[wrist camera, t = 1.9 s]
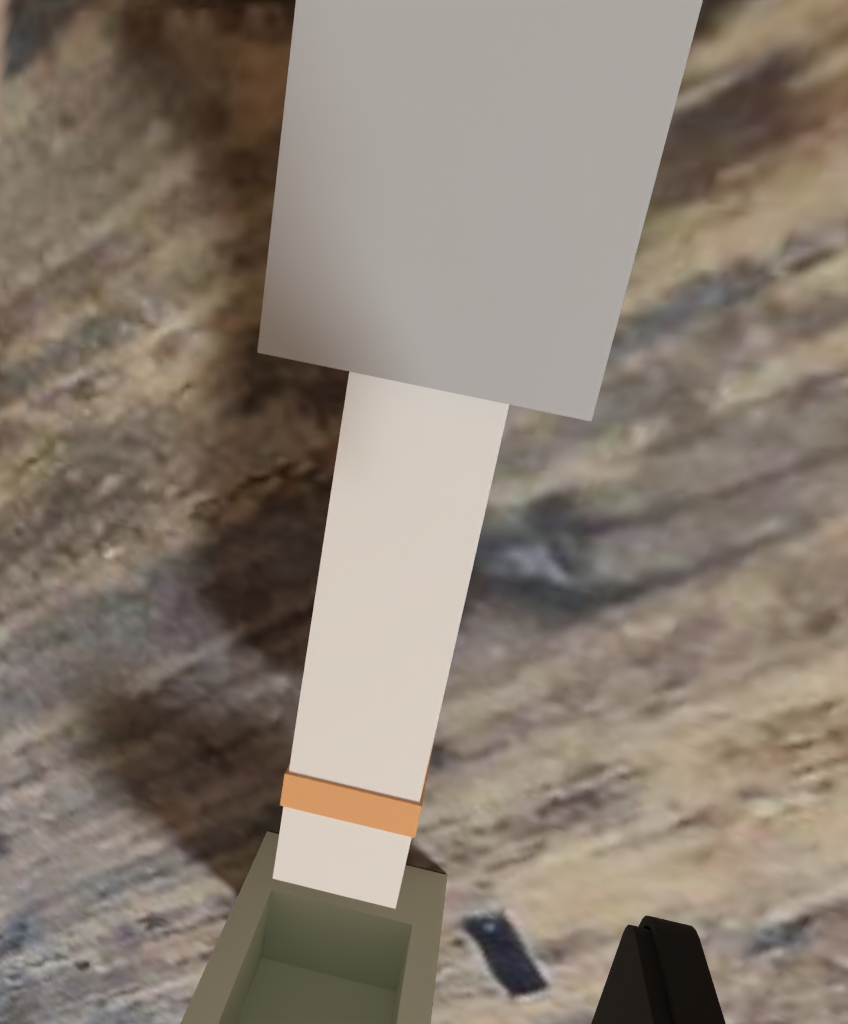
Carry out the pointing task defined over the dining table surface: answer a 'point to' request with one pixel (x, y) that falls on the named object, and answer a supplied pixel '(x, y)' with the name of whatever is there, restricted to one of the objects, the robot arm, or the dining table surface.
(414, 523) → the orange-striped white bar
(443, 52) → the grey block
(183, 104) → the dining table surface
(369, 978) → the socket
